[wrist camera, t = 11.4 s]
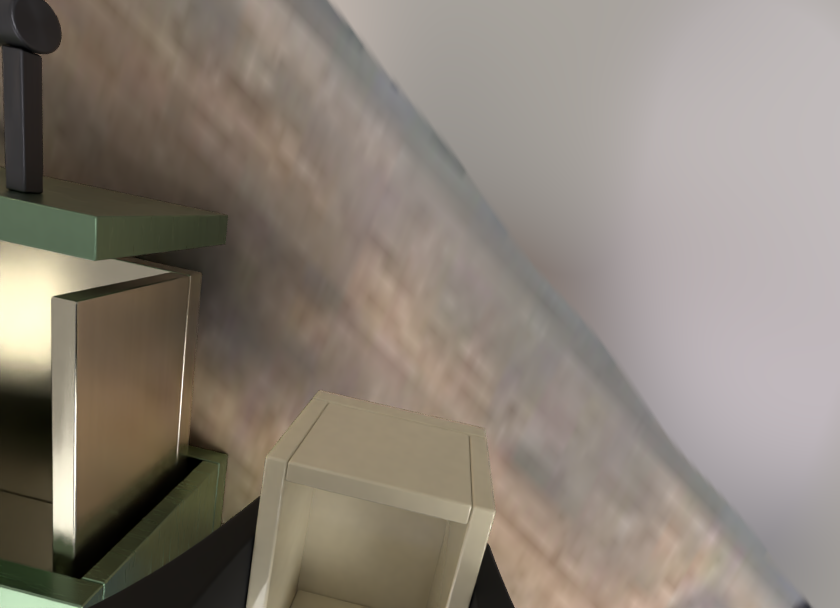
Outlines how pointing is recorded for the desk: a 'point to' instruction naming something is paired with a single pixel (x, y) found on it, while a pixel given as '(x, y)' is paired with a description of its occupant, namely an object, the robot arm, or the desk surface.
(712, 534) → the desk surface
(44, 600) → the cabinet
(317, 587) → the open wooden box
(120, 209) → the drawer
